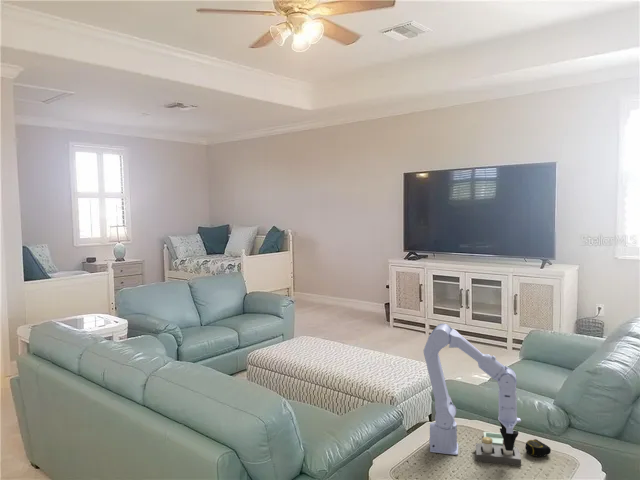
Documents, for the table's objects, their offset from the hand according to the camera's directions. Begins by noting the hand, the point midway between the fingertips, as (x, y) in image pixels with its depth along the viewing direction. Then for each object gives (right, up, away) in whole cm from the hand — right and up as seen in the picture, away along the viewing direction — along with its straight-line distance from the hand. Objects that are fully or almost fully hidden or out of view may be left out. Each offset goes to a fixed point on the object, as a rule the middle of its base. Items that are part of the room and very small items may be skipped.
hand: (508, 444), depth 163 cm
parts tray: (+1, -4, +11) cm, 12 cm away
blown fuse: (0, -5, 0) cm, 5 cm away
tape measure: (+11, -5, +3) cm, 13 cm away
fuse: (-6, -5, +2) cm, 8 cm away
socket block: (-3, -5, +1) cm, 6 cm away
